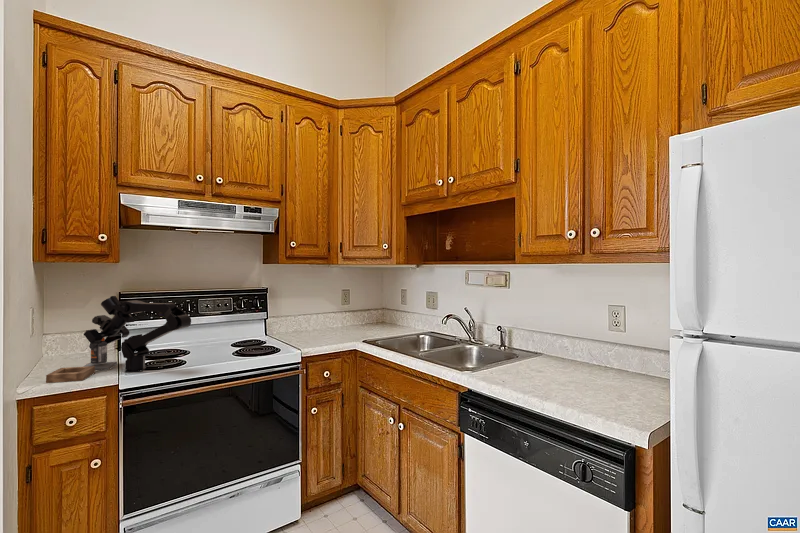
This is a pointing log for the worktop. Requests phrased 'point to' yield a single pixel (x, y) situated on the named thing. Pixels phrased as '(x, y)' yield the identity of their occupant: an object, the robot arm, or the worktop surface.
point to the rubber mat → (102, 365)
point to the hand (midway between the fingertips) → (96, 346)
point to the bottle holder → (70, 374)
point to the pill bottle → (99, 353)
